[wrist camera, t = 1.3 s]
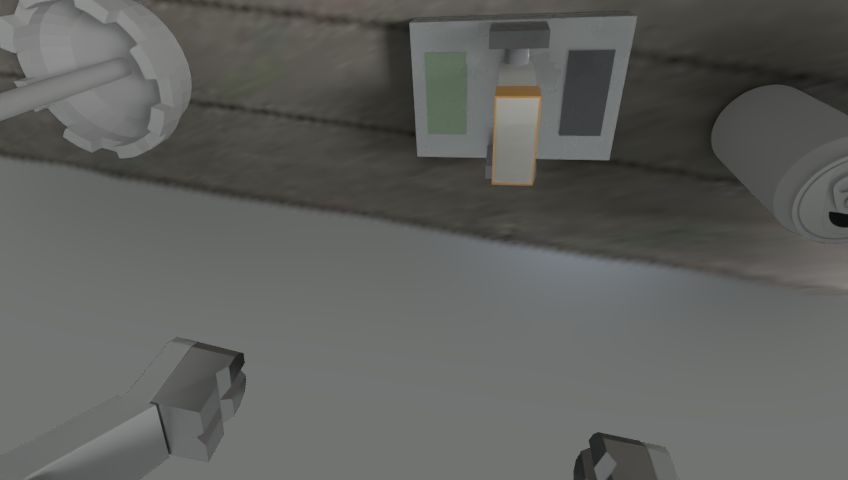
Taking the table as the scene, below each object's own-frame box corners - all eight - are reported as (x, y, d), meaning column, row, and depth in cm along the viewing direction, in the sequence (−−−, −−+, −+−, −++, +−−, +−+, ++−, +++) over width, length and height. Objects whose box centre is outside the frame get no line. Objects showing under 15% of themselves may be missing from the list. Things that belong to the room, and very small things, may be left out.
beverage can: (720, 177, 36) (799, 266, 26) (695, 110, 34) (772, 180, 24) (814, 139, 33) (941, 222, 24) (794, 63, 31) (927, 120, 21)
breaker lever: (535, 42, 30) (543, 76, 23) (527, 143, 34) (531, 200, 27) (499, 43, 31) (495, 76, 23) (495, 142, 35) (491, 199, 27)
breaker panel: (629, 10, 31) (653, 25, 25) (603, 147, 36) (619, 183, 31) (415, 17, 33) (397, 32, 28) (422, 145, 39) (408, 177, 33)
